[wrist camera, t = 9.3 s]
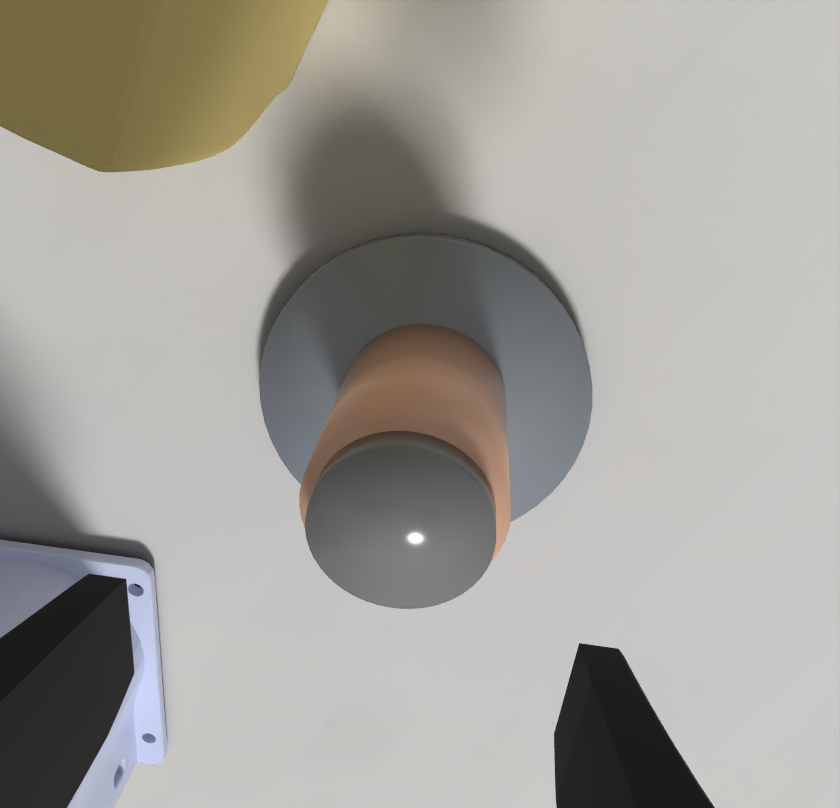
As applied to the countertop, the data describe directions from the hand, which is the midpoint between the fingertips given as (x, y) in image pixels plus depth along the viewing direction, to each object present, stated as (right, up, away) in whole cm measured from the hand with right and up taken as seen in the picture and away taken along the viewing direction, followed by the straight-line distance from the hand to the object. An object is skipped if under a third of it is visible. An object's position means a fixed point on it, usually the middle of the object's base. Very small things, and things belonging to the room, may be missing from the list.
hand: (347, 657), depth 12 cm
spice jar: (+1, +4, +8) cm, 9 cm away
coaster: (+1, +4, +9) cm, 10 cm away
